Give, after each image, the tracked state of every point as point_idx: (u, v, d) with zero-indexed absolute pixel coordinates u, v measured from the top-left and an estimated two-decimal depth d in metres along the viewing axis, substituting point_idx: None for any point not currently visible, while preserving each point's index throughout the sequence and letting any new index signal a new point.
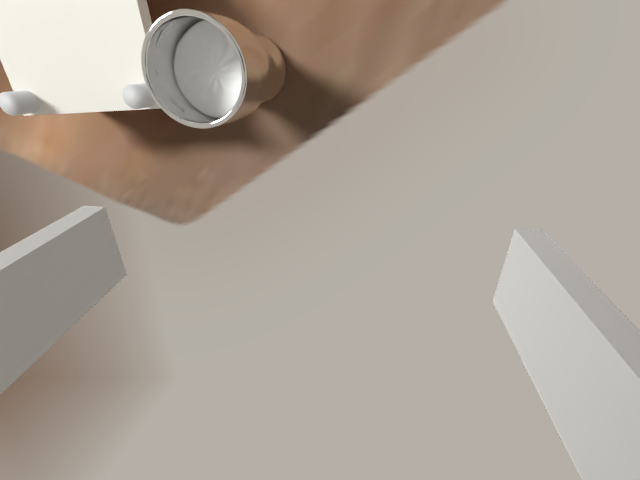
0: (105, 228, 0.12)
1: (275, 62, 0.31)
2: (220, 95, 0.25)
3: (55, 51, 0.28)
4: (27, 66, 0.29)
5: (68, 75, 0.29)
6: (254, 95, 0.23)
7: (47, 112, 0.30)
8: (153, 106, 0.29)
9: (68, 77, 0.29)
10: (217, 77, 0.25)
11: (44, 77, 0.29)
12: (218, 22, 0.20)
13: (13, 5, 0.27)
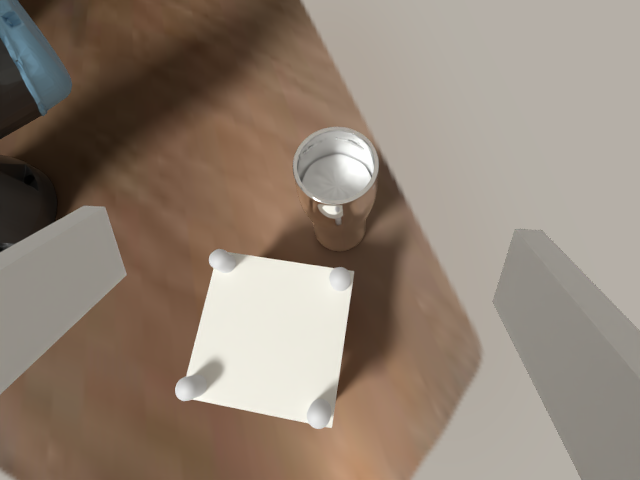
0: (105, 229, 0.12)
1: None
2: (354, 188, 0.30)
3: (287, 352, 0.30)
4: (291, 391, 0.29)
5: (308, 351, 0.30)
6: None
7: (334, 396, 0.29)
8: (351, 279, 0.31)
9: (309, 352, 0.30)
10: (341, 186, 0.30)
11: (303, 378, 0.29)
12: (308, 137, 0.27)
13: (245, 371, 0.30)
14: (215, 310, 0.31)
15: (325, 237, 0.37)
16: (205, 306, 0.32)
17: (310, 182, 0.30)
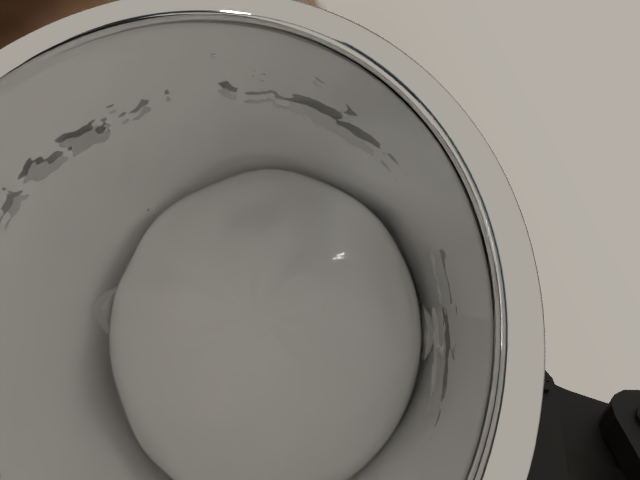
0: None
1: None
2: (335, 330, 0.07)
3: None
4: None
5: None
6: None
7: None
8: None
9: None
10: (273, 317, 0.07)
11: None
12: None
13: None
14: None
15: None
16: None
17: (145, 294, 0.07)
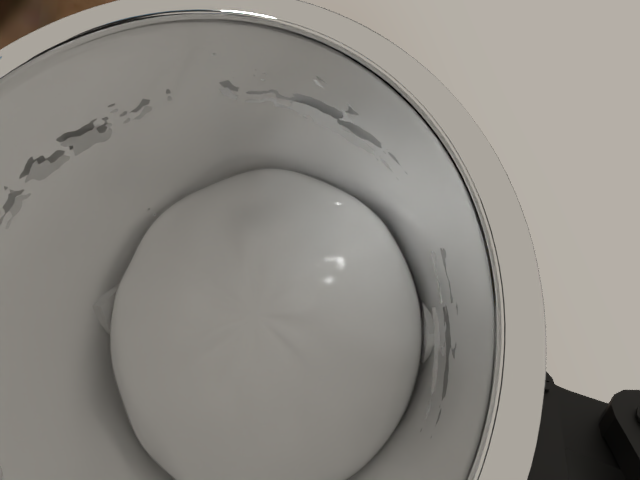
0: None
1: None
2: (336, 329, 0.07)
3: None
4: None
5: None
6: None
7: None
8: None
9: None
10: (274, 316, 0.07)
11: None
12: None
13: None
14: None
15: None
16: None
17: (146, 294, 0.07)
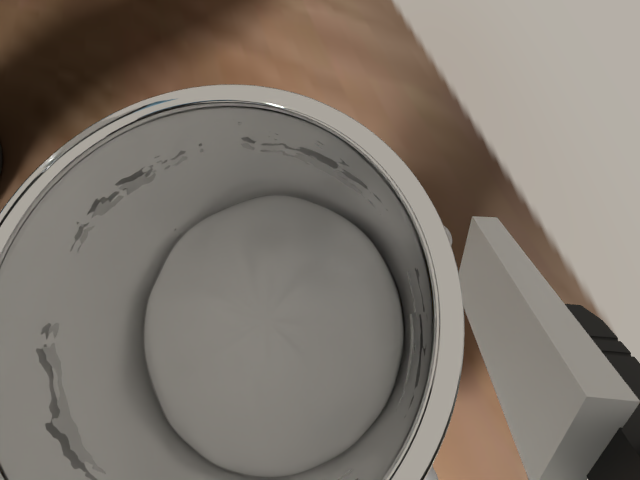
0: None
1: None
2: (332, 332, 0.08)
3: None
4: None
5: None
6: None
7: None
8: None
9: None
10: (281, 320, 0.08)
11: None
12: (73, 138, 0.05)
13: None
14: None
15: None
16: None
17: (174, 301, 0.08)
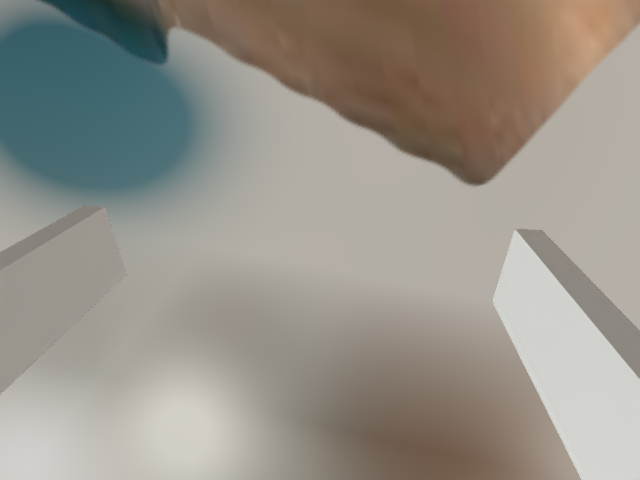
0: (105, 229, 0.12)
1: None
2: None
3: None
4: None
5: None
6: None
7: None
8: None
9: None
10: None
11: None
12: None
13: None
14: None
15: None
16: None
17: None
